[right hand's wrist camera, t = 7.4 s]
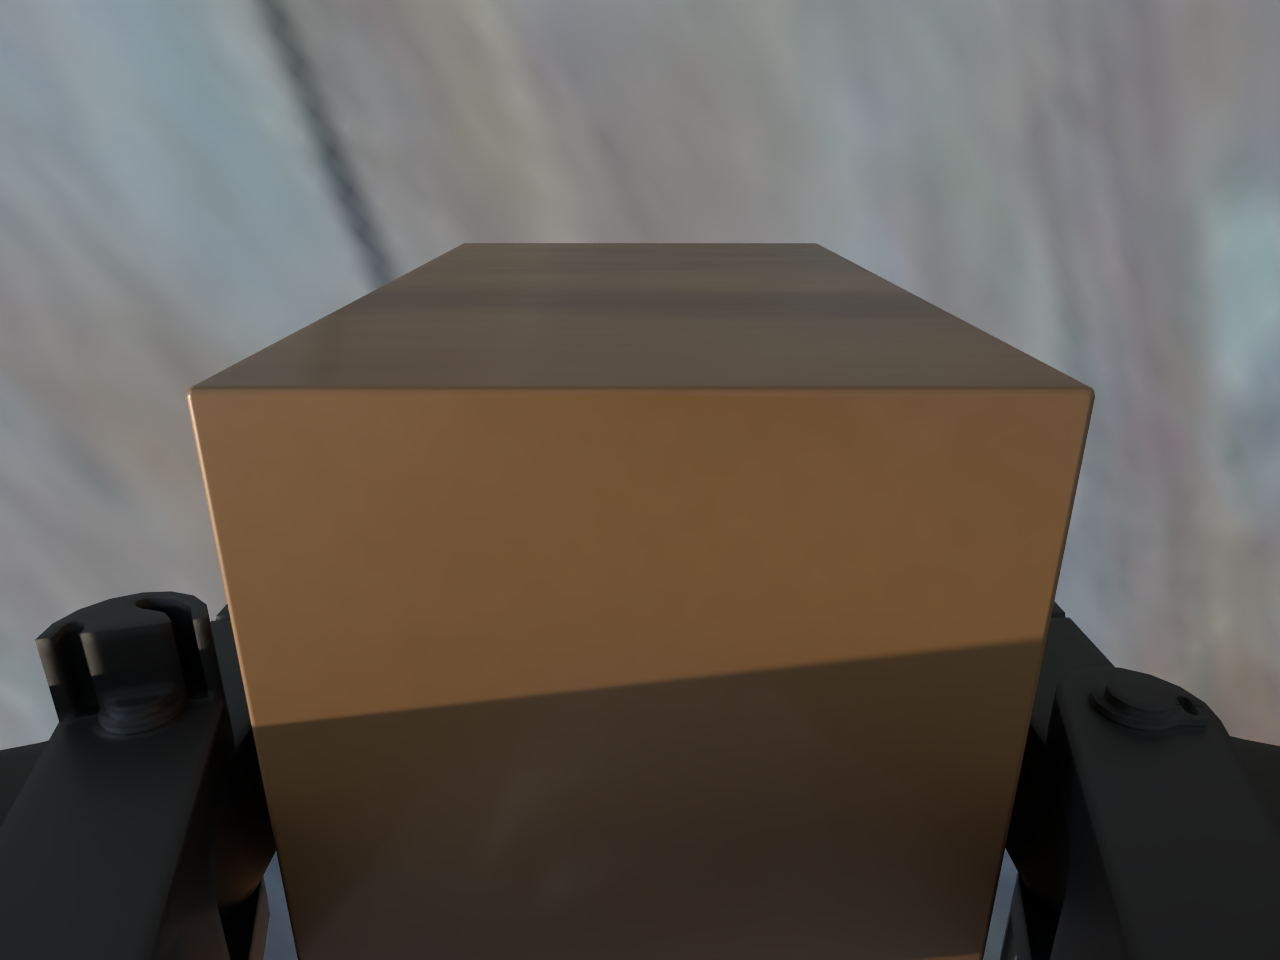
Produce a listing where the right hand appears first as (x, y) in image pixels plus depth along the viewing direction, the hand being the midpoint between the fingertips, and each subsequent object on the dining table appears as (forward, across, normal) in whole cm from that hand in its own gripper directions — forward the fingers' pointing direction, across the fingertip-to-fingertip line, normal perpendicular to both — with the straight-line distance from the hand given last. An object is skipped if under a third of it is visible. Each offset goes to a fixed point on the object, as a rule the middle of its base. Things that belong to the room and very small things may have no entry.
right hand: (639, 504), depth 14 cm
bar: (+1, 0, -7) cm, 7 cm away
